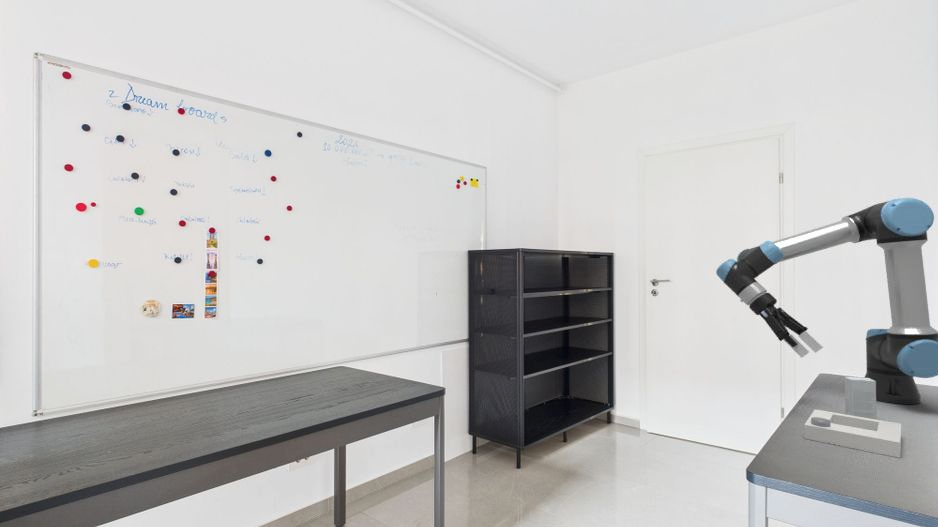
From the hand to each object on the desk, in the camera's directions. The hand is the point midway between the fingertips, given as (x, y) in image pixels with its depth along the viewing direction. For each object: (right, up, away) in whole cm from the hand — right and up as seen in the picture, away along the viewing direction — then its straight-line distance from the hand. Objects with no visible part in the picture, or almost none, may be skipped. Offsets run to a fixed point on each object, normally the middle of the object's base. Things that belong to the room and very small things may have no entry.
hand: (812, 352), depth 143 cm
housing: (-6, -18, -22) cm, 29 cm away
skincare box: (+7, -18, -9) cm, 21 cm away
